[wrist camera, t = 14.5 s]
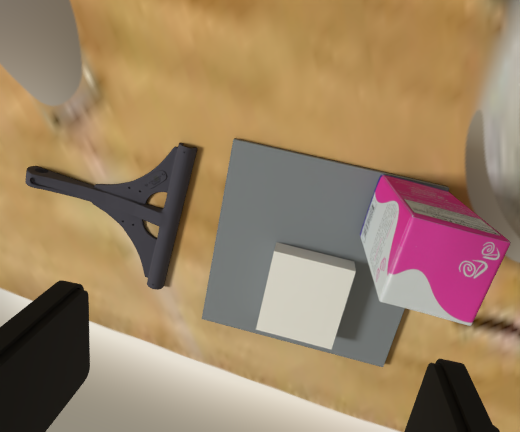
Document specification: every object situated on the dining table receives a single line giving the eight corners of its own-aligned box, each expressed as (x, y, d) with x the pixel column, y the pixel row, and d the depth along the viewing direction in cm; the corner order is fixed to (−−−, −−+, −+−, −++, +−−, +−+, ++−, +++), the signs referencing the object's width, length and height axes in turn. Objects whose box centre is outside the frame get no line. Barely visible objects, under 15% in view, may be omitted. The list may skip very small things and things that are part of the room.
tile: (274, 251, 34) (255, 329, 37) (355, 271, 34) (331, 349, 36) (276, 241, 36) (259, 316, 39) (354, 260, 36) (331, 335, 38)
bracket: (46, 96, 37) (25, 97, 34) (199, 147, 36) (189, 152, 33) (32, 235, 42) (12, 245, 39) (166, 283, 41) (155, 296, 38)
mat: (234, 138, 35) (233, 139, 34) (447, 186, 33) (449, 188, 32) (203, 315, 41) (201, 318, 40) (382, 363, 39) (383, 367, 38)
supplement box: (426, 254, 34) (471, 331, 24) (358, 235, 35) (372, 302, 24) (452, 190, 32) (514, 243, 22) (380, 171, 33) (406, 213, 22)
